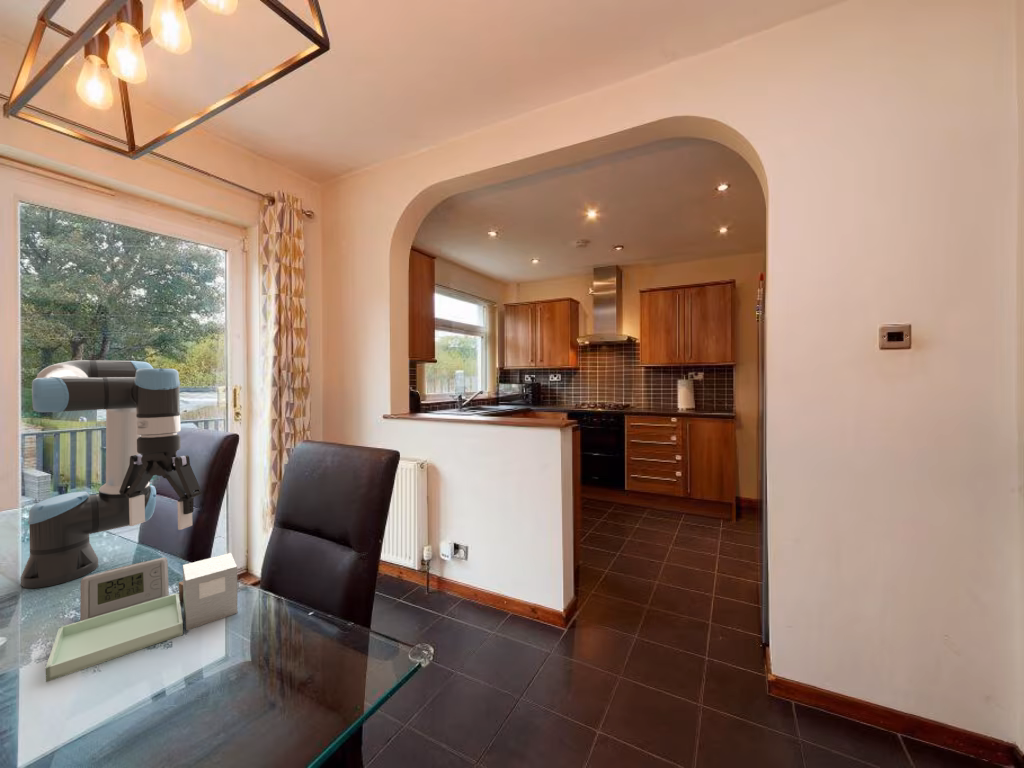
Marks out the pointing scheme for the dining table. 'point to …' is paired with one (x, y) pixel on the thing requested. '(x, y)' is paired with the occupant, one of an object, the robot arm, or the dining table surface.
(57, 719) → the dining table surface
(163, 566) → the digital clock
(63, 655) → the tray
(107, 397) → the robot arm
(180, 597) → the walnut block
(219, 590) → the light grey labelled box
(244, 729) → the dining table surface
